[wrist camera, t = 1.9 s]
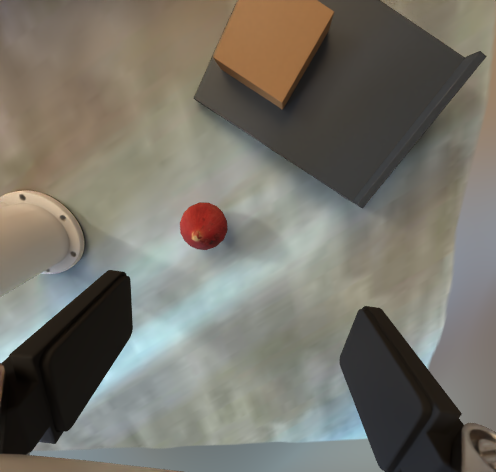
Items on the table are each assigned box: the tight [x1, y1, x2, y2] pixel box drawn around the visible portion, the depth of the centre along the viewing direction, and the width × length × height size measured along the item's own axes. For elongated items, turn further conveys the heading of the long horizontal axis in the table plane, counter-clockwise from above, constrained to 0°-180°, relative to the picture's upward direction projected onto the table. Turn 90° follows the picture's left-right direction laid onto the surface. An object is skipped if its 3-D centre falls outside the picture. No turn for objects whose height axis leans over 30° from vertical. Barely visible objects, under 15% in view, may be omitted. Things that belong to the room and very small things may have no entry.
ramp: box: [194, 0, 486, 208], centre depth 24 cm, size 22×16×6 cm
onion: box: [180, 203, 227, 250], centre depth 29 cm, size 6×6×8 cm
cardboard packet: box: [213, 0, 334, 110], centre depth 23 cm, size 8×8×4 cm
